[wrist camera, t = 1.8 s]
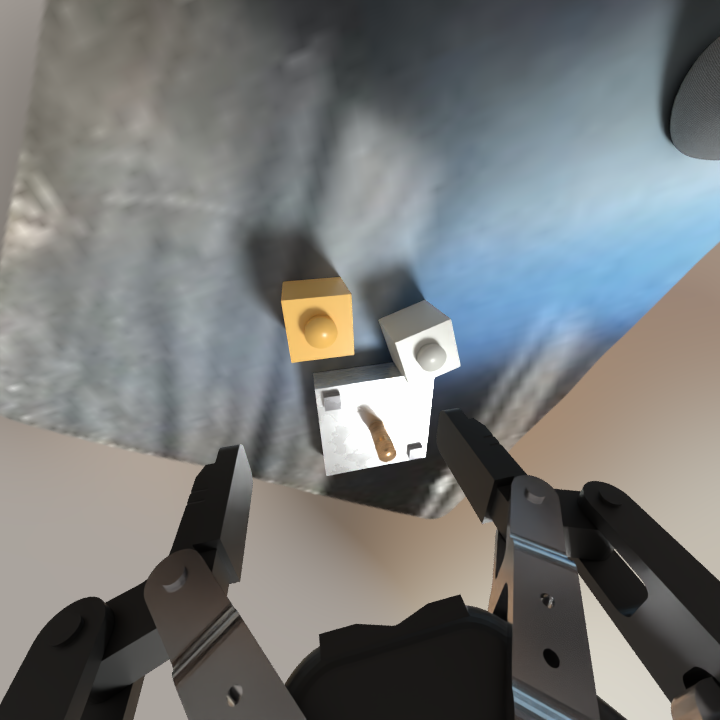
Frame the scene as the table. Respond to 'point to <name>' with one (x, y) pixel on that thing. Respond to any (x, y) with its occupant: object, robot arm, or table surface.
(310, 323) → the yellow knobbed cube
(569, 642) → the robot arm
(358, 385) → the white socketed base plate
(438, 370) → the grey cap
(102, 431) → the table surface
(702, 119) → the smart speaker
